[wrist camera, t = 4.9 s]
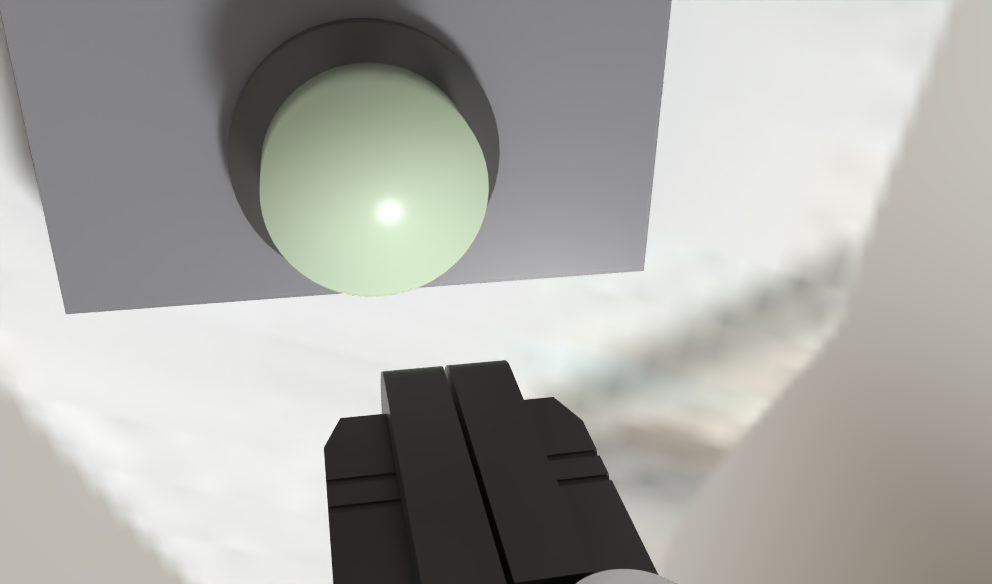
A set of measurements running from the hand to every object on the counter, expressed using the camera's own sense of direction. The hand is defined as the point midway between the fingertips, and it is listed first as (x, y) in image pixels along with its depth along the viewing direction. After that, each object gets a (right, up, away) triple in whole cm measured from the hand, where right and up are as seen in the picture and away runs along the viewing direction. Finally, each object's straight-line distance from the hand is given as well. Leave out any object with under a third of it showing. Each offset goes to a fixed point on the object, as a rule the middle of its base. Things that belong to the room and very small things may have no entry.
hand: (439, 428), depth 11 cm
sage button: (-2, +4, +9) cm, 10 cm away
